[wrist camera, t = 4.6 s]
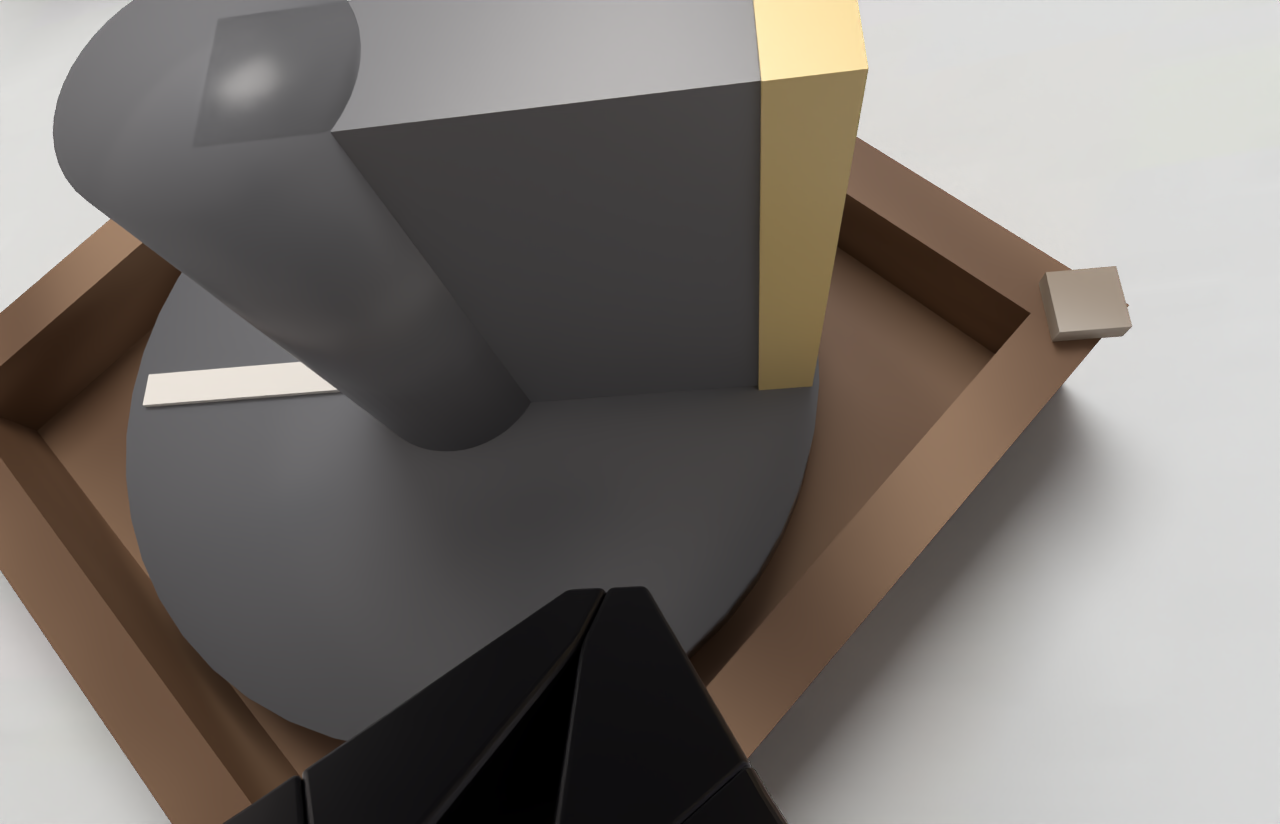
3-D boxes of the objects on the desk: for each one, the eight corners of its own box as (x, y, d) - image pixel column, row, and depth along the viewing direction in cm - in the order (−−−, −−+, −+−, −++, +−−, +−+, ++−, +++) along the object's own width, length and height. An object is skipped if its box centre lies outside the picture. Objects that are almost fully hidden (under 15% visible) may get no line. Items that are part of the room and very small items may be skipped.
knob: (116, 755, 16) (-690, 818, 7) (226, 158, 21) (-165, -246, 12) (853, 738, 14) (1015, 790, 5) (782, 93, 19) (804, -433, 10)
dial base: (490, 1077, 15) (402, 1199, 11) (26, 454, 21) (-129, 400, 17) (1077, 377, 18) (1160, 292, 14) (523, 8, 24) (481, -117, 20)
